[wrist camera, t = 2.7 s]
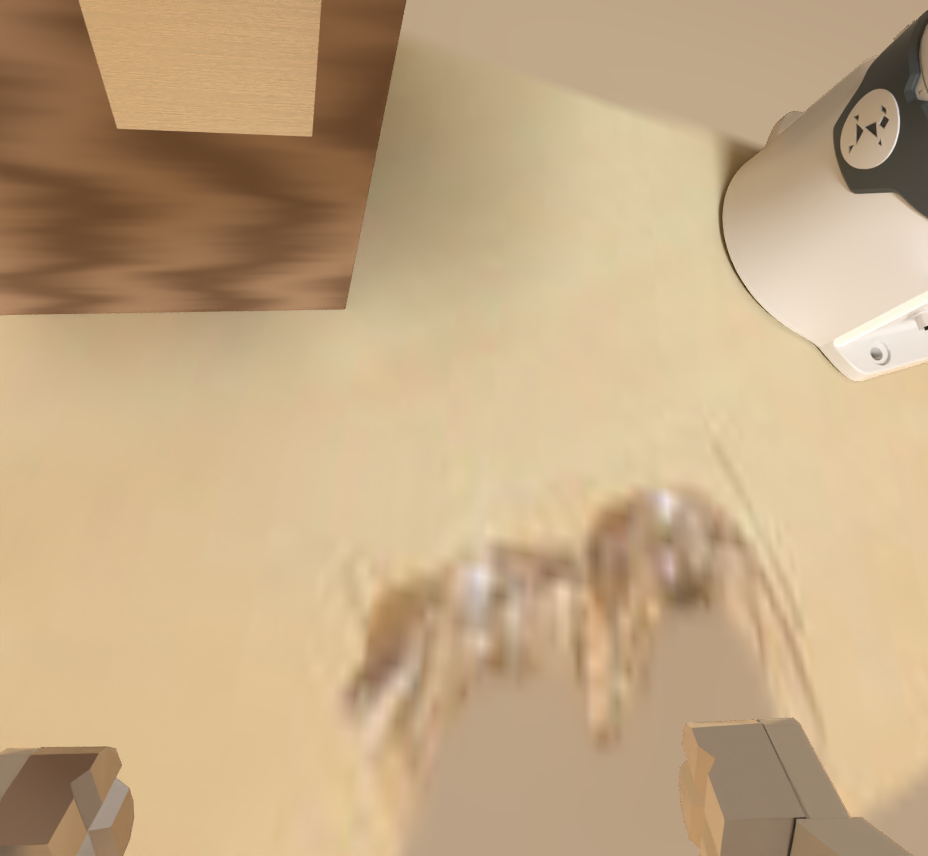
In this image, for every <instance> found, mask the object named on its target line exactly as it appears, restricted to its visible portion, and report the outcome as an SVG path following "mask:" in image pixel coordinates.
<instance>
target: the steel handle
mask: <svg viewBox="0 0 928 856" xmlns="http://www.w3.org/2000/svg"><path fill="white" fill-rule="evenodd" d="M79 4H80V7H81V10H82V13H83V17H84V20H85V23H86V27H87V30H88V33H89V37H90V40H91V43H92V47H93V50H94V53H95V56H96V60H97V63H98V66H99V70H100V73H101V76H102V80H103V83H104V86H105V90H106V93H107V96H108V100H109V103H110V106H111V109H112V113H113V116H114V119H115V123H116V126H117V129H138V130H163V131H187V132H211V133H236V134H260V135H284V136H308V137H312V131H313V116H314V102H315V87H316V73H317V58H318V43H319V29H320V14H321V0H79Z"/></svg>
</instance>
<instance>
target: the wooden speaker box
mask: <svg viewBox="0 0 928 856" xmlns="http://www.w3.org/2000/svg"><path fill="white" fill-rule="evenodd" d="M405 4H406V0H321V14H320V29H319V43H318V58H317V73H316V87H315V102H314V116H313V131H312V137H308V136H284V135H260V134H236V133H211V132H187V131H163V130H138V129H117V126H116V123H115V119H114V116H113V113H112V109H111V106H110V103H109V100H108V96H107V93H106V90H105V86H104V83H103V80H102V76H101V73H100V70H99V66H98V63H97V60H96V56H95V53H94V50H93V47H92V43H91V40H90V37H89V33H88V30H87V27H86V23H85V20H84V17H83V13H82V10H81V7H80V4H79V0H0V315H19V314H81V313H142V312H204V311H266V310H327V309H345V307H346V302H347V297H348V292H349V287H350V282H351V277H352V272H353V267H354V262H355V257H356V252H357V247H358V242H359V237H360V232H361V226H362V221H363V216H364V211H365V206H366V201H367V196H368V191H369V186H370V181H371V176H372V171H373V166H374V161H375V156H376V151H377V146H378V141H379V136H380V130H381V125H382V120H383V115H384V110H385V105H386V100H387V95H388V90H389V85H390V80H391V75H392V70H393V65H394V60H395V55H396V50H397V45H398V40H399V34H400V29H401V24H402V19H403V14H404V9H405Z"/></svg>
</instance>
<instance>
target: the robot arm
mask: <svg viewBox="0 0 928 856" xmlns="http://www.w3.org/2000/svg"><path fill="white" fill-rule="evenodd" d="M723 230H724V237H725V242H726V245H727V249H728V252H729V255H730V258H731V260H732V262H733V265H734V267H735V269H736V271H737V273H738V275H739V276H740V278H741V280H742V281H743V283H744V285H745V286H746V287H747V289H748V290H749V292H750V293H751V294H752V295H753V297H754V298H755V299H756V300H757V301H758V303H759V304H760V305H761V306H762V307H763V308H764V309H765V310H766V311H767V312H768V313H769V314H771V315H772V316H773V317H774V318H775V319H777V320H778V321H779V322H780V323H782V324H783V325H785V326H786V327H788V328H789V329H791V330H792V331H794V332H796V333H797V334H799V335H801V336H803V337H804V338H806V339H808V340H809V341H811V342H812V343H813V344H815V345H816V346H817V347H819V349H820V350H821V351H822V352H823V353H824V355H825V356H826V357H827V358H828V359H829V360H830V362H831V363H832V364H833V365H834V366H835V367H836V368H837V369H838V370H839V371H840V372H841V373H842V374H843V375H845V376H846V377H847V378H849V379H851V380H854V381H863V380H866V379H870V378H873V377H877V376H880V375H884V374H887V373H891V372H894V371H898V370H901V369H905V368H908V367H911V366H915V365H918V364H922V363H925V362H928V10H927V11H926V12H925V13H924V14H922V15H921V16H920V17H919V18H918V19H917V20H916V21H913V22H912V24H911V25H908V26H906V27H905V28H904V29H903V30H902V31H901V32H900V33H899V34H898V35H897V36H896V37H895V38H894V42H893V43H892V44H891V45H890V46H889V47H887V49H886V50H884V51H883V52H882V53H881V54H880V55H876V56H873V57H871V58H869V59H867V60H866V61H864V62H863V63H862V64H860V65H859V66H858V67H857V68H856V69H854V70H853V71H852V72H851V73H850V74H848V75H847V76H846V77H845V78H844V79H842V80H841V81H840V82H839V83H838V84H836V85H835V86H834V87H833V88H832V89H830V90H829V91H828V92H827V93H826V94H825V95H823V96H822V97H821V98H820V99H819V100H818V101H816V102H815V103H814V104H813V105H812V106H811V107H809V108H808V109H807V110H806V111H805V112H797V111H793V112H789V113H788V114H786V115H785V116H784V117H783V118H782V119H780V120H779V121H778V122H777V123H776V124H775V126H774V127H773V130H772V131H771V134H770V136H769V139H768V141H767V144H766V146H765V147H764V148H763V150H761V151H760V152H759V153H758V154H756V155H755V156H754V157H752V158H751V159H750V160H748V161H747V162H746V163H745V164H744V165H743V166H742V167H741V168H740V169H739V170H738V171H737V173H736V174H735V175H734V177H733V179H732V180H731V182H730V184H729V186H728V189H727V192H726V195H725V199H724V205H723ZM871 354H872V356H873V358H874V359H873V358H872V356H871ZM682 746H683V749H684V752H685V755H686V758H687V760H686V761H685V762H684V763H683V764H682V765H681V767H680V774H679V775H680V776H679V791H680V802H681V809H682V813H683V819H684V823H685V826H686V830H687V833H688V837H689V839H690V840H691V841H692V842H693V843H694V844H695V845H696V846H697V847H699V849H700V855H699V856H914V855H913V854H911V853H910V852H909V851H907V850H906V849H904V848H903V847H902V846H900V845H899V844H898V843H896V842H895V841H894V840H892V839H891V838H890V837H888V836H887V835H885V834H884V833H883V832H881V831H880V830H879V829H877V828H876V827H875V826H873V825H872V824H871V823H869V822H868V821H866V820H865V819H864V818H862V817H850V815H849V813H848V812H847V810H846V808H845V806H844V804H843V802H842V800H841V799H840V797H839V795H838V793H837V791H836V789H835V787H834V786H833V784H832V782H831V780H830V778H829V776H828V774H827V773H826V771H825V769H824V767H823V765H822V763H821V761H820V760H819V758H818V756H817V754H816V752H815V750H814V748H813V747H812V745H811V743H810V741H809V739H808V737H807V735H806V734H805V732H804V730H803V728H802V726H801V724H800V723H799V722H798V721H797V720H796V719H794V718H776V719H758V720H734V721H714V722H696V723H686V724H685V726H684V729H683V736H682ZM121 766H122V764H121V761H120V758H119V756H118V753H117V751H116V748H112V747H41V748H7V749H6V750H4V751H3V752H1V753H0V856H123V855H124V852H125V850H126V848H127V845H128V843H129V841H130V837H131V832H132V826H133V821H134V804H133V798H132V795H131V791H130V788H129V787H128V786H126V785H125V784H124V783H122V782H121V781H120V780H119V779H117V778H116V776H117V774H118V772H119V770H120V768H121Z"/></svg>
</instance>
